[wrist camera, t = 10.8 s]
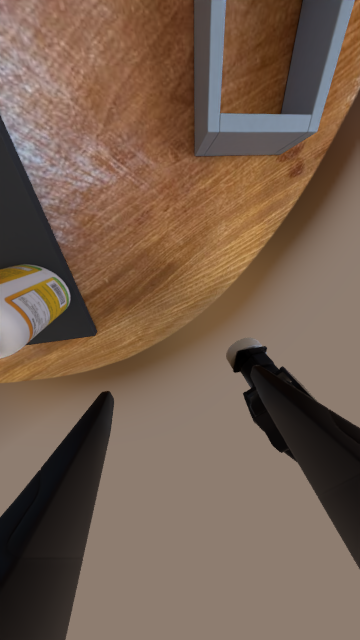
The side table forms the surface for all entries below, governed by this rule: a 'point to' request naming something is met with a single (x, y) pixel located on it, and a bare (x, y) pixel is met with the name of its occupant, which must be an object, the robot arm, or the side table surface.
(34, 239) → the mat
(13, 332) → the supplement bottle
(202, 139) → the holder
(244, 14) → the side table surface
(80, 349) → the side table surface
